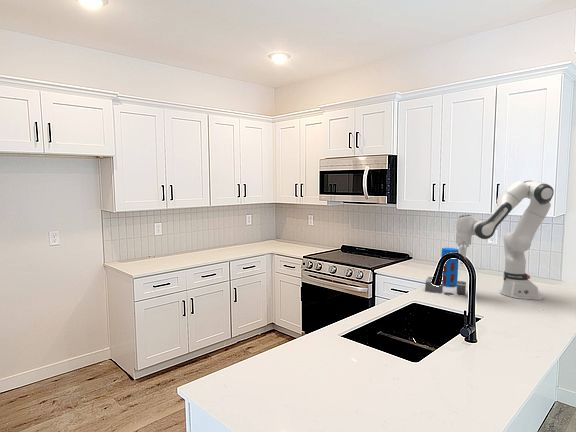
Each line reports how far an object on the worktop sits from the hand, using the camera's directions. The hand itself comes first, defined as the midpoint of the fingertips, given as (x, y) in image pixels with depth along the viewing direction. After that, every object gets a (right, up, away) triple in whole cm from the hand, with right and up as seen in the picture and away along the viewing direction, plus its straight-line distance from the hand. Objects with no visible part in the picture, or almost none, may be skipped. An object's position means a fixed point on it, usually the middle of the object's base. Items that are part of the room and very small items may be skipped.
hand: (462, 263), depth 243 cm
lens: (0, -20, +1) cm, 20 cm away
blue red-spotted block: (+2, -18, +25) cm, 31 cm away
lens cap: (-8, -20, +1) cm, 22 cm away
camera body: (-14, -19, +10) cm, 25 cm away
